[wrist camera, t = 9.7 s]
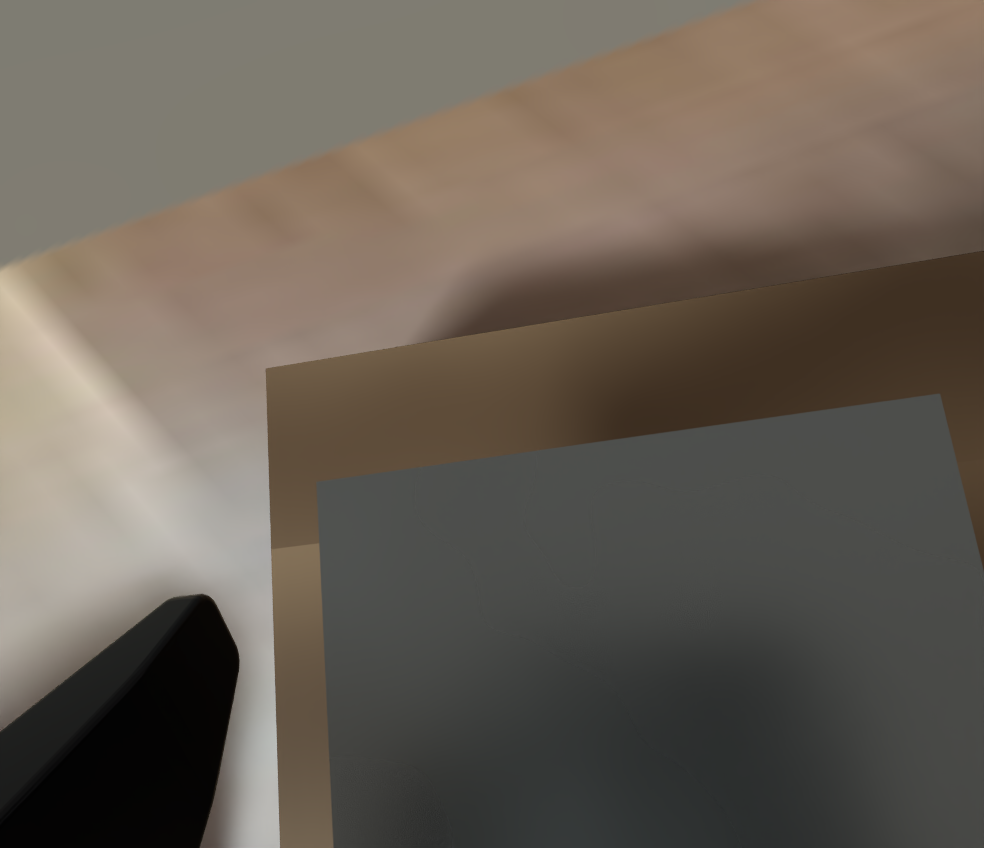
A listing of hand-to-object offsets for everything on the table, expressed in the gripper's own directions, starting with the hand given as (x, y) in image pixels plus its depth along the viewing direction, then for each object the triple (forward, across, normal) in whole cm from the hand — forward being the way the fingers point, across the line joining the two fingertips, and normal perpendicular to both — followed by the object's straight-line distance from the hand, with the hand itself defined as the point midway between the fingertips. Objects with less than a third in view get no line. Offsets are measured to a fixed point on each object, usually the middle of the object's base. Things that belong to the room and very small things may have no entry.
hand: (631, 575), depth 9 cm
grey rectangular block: (+5, 0, +7) cm, 9 cm away
